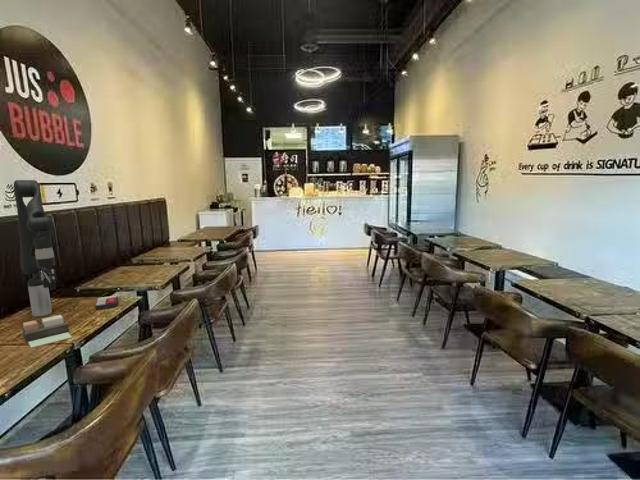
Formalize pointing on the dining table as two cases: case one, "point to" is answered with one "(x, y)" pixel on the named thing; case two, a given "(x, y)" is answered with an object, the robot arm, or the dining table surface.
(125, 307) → the dining table surface
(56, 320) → the cream tile
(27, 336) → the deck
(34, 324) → the salmon pink block
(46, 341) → the mat
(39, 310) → the robot arm
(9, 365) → the dining table surface
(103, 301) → the red and white box
